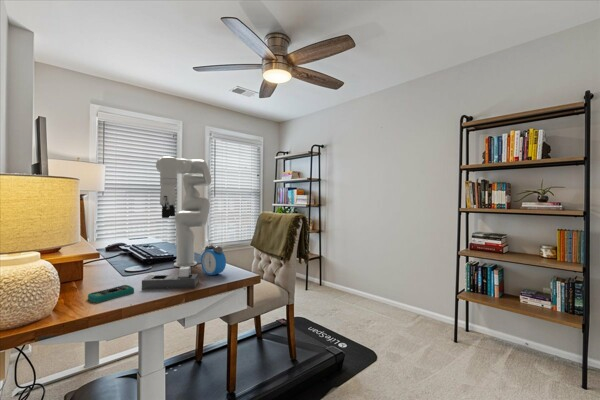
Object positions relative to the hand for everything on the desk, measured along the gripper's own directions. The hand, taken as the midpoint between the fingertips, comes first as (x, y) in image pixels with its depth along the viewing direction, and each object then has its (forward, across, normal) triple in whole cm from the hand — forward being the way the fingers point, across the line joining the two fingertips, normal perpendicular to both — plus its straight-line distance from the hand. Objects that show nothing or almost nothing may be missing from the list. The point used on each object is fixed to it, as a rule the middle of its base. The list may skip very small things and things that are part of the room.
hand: (168, 217), depth 142 cm
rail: (+30, +13, +5) cm, 33 cm away
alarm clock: (+30, -4, +21) cm, 37 cm away
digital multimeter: (+31, +24, -15) cm, 42 cm away
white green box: (+29, +13, +11) cm, 34 cm away
